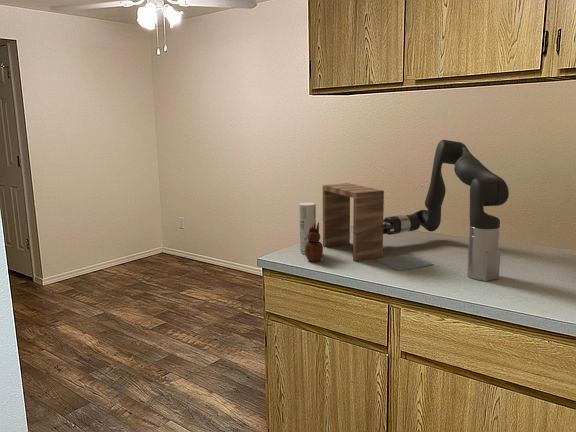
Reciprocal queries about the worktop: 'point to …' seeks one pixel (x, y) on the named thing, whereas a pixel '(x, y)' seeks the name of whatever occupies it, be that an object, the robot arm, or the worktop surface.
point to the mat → (403, 262)
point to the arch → (354, 219)
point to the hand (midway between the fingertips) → (363, 229)
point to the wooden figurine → (314, 245)
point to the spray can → (306, 222)
